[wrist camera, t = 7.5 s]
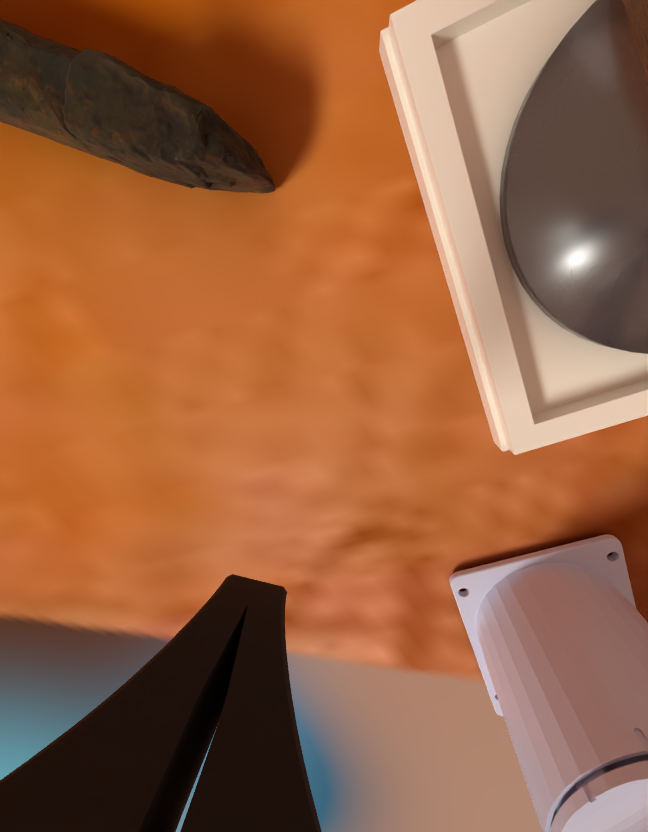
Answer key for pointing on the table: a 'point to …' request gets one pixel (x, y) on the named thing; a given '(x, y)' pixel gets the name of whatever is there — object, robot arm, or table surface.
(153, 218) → the table surface
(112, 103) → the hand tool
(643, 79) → the dial
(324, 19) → the table surface
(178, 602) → the table surface
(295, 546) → the table surface
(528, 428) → the dial plate
